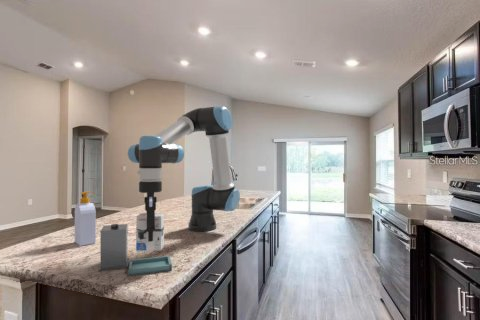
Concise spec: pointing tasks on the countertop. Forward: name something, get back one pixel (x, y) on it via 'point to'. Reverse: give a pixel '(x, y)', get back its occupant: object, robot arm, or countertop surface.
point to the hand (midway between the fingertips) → (150, 247)
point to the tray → (150, 265)
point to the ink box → (141, 235)
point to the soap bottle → (85, 221)
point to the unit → (114, 247)
